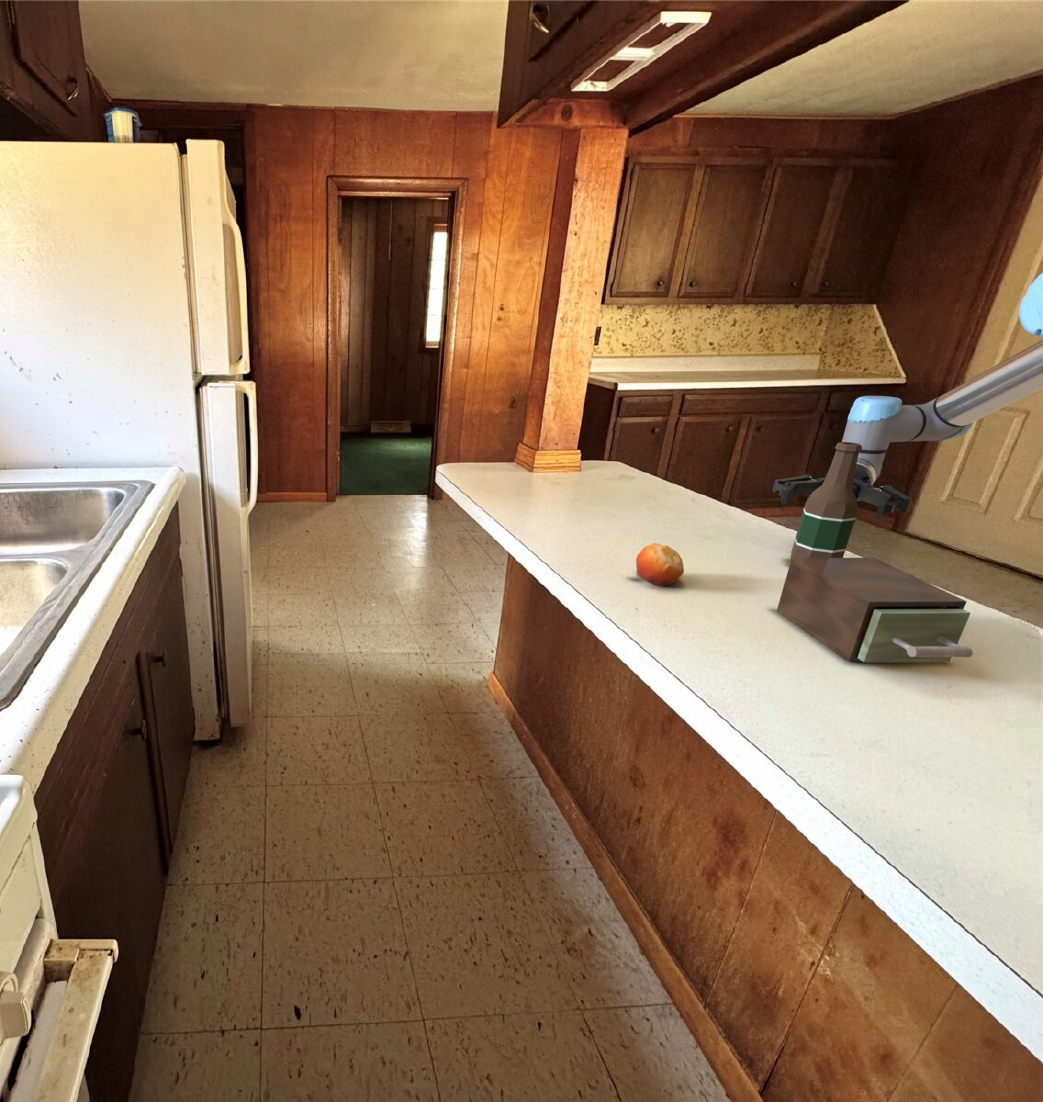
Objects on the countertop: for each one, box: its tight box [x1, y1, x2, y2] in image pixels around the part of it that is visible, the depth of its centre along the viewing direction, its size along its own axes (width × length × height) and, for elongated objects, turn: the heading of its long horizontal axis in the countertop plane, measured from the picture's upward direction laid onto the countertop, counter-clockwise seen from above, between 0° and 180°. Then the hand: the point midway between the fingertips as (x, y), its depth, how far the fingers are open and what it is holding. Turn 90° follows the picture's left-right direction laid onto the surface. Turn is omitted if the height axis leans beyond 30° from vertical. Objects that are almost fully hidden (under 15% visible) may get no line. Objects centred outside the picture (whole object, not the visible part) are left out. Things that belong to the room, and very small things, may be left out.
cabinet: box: [776, 557, 967, 663], centre depth 92 cm, size 16×13×10 cm
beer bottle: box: [789, 441, 862, 561], centre depth 112 cm, size 8×8×24 cm
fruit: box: [633, 542, 685, 587], centre depth 112 cm, size 8×8×8 cm
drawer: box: [858, 607, 974, 663], centre depth 88 cm, size 19×11×8 cm, turn 177°
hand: (830, 504), depth 111 cm, fingers open, 13 cm apart
